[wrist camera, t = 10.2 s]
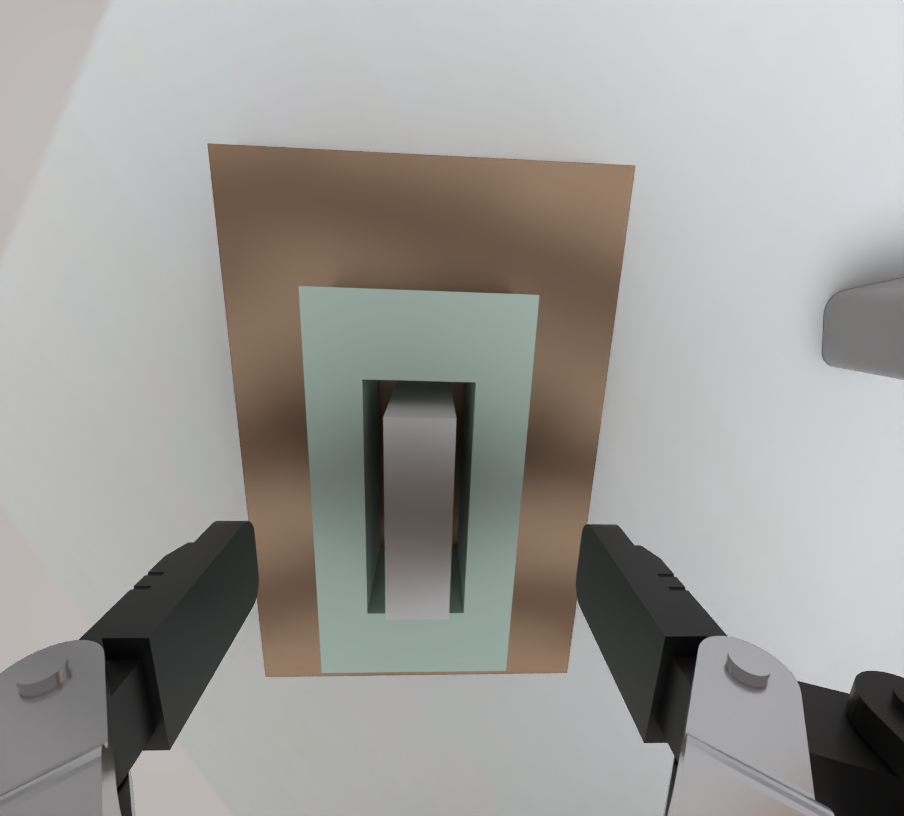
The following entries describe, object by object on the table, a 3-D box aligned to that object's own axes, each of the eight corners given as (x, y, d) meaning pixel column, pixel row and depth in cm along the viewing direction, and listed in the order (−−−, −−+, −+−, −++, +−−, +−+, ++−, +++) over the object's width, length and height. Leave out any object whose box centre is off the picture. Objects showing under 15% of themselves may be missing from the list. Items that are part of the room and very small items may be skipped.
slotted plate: (491, 596, 17) (505, 671, 14) (343, 596, 17) (321, 672, 14) (513, 293, 14) (539, 294, 11) (331, 287, 14) (298, 286, 10)
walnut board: (554, 636, 20) (608, 789, 14) (281, 639, 20) (212, 801, 13) (609, 181, 15) (735, 104, 9) (237, 163, 14) (87, 65, 8)
